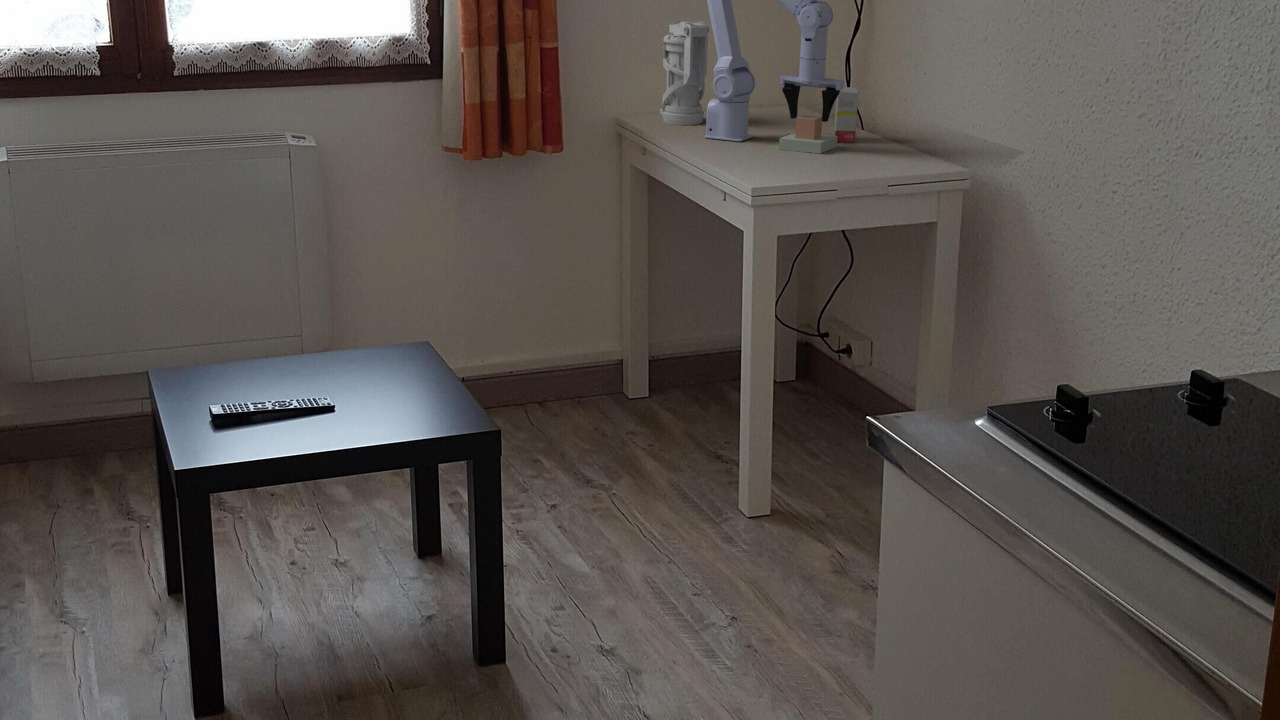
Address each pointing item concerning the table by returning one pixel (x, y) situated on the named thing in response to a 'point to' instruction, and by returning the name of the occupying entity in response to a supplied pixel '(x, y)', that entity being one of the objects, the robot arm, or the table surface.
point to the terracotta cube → (808, 127)
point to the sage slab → (807, 143)
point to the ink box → (846, 115)
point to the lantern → (685, 72)
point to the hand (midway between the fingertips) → (809, 119)
